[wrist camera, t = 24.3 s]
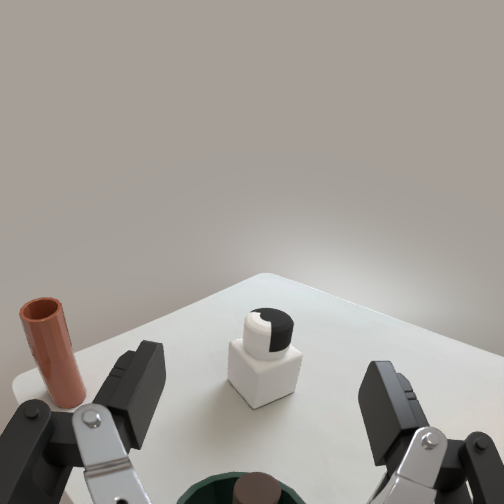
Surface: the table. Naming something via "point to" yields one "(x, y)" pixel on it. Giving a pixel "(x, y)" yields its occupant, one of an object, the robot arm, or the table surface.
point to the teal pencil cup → (228, 491)
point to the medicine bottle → (264, 358)
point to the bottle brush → (256, 489)
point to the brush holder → (53, 351)
